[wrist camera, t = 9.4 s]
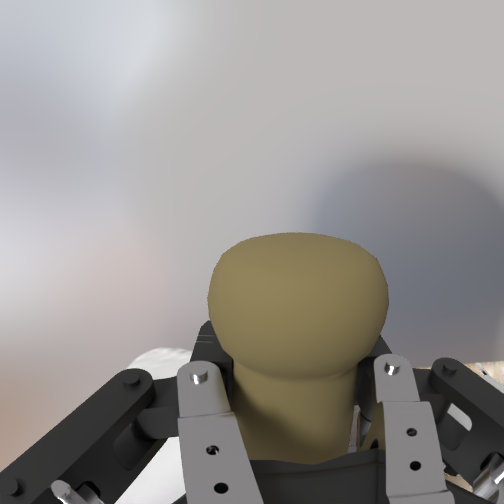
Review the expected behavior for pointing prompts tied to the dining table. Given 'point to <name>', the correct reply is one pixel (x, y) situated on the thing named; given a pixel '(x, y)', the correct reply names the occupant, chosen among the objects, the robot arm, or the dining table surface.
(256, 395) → the pepper shaker
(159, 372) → the dining table surface
